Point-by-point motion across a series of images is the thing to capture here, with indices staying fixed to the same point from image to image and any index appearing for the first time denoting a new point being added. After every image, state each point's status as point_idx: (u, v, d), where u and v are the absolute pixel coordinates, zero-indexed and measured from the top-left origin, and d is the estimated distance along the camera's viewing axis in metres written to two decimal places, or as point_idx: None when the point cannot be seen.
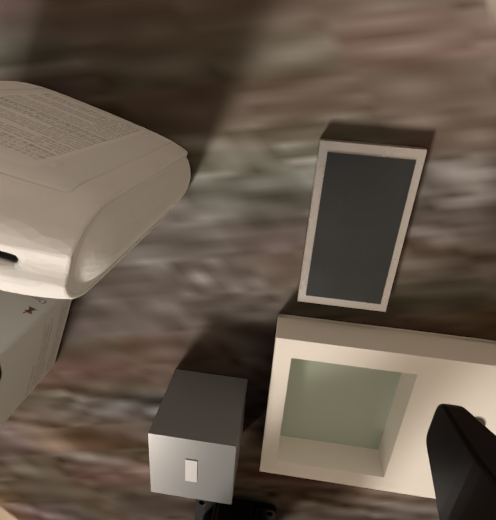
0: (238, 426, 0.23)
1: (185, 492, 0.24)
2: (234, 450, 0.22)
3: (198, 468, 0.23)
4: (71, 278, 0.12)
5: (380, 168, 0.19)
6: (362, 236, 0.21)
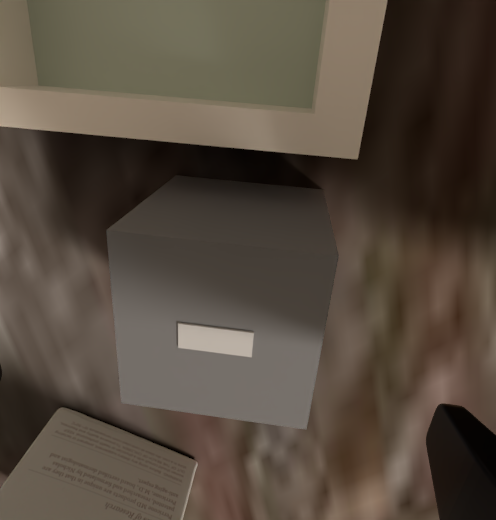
0: None
1: (299, 361, 0.09)
2: (120, 235, 0.09)
3: (206, 322, 0.09)
4: None
5: None
6: None
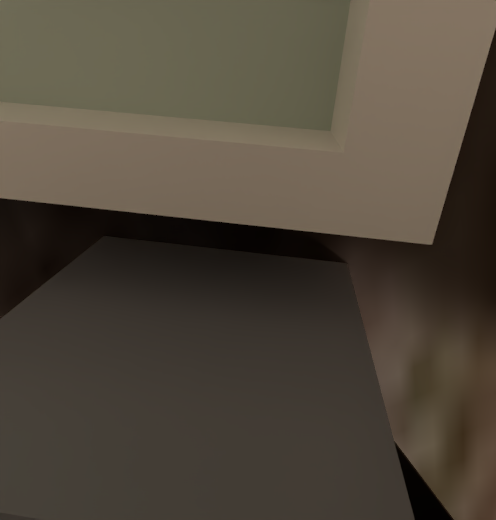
0: None
1: None
2: None
3: None
4: None
5: None
6: None
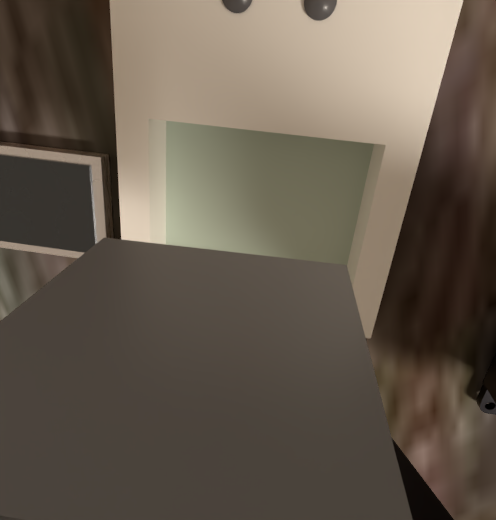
0: None
1: None
2: None
3: None
4: None
5: None
6: (10, 194, 0.18)
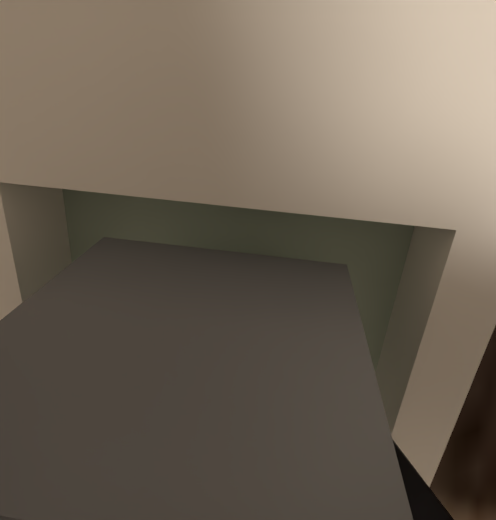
0: None
1: None
2: None
3: None
4: None
5: None
6: None
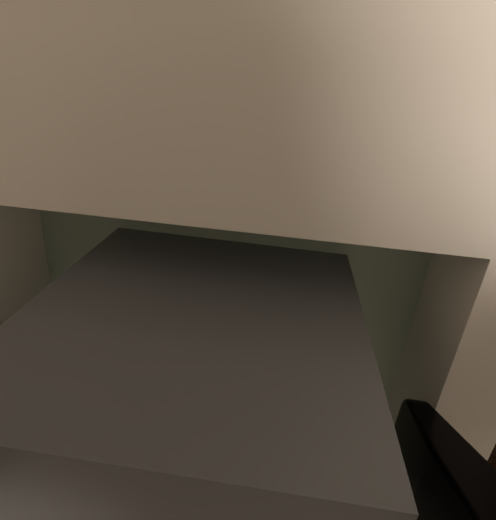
0: None
1: None
2: None
3: None
4: None
5: None
6: None
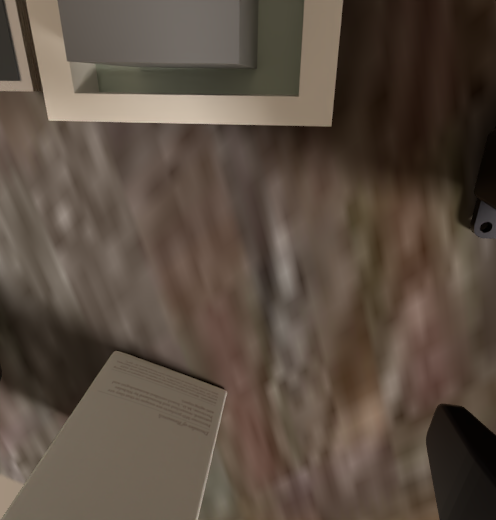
0: None
1: None
2: None
3: None
4: None
5: None
6: None
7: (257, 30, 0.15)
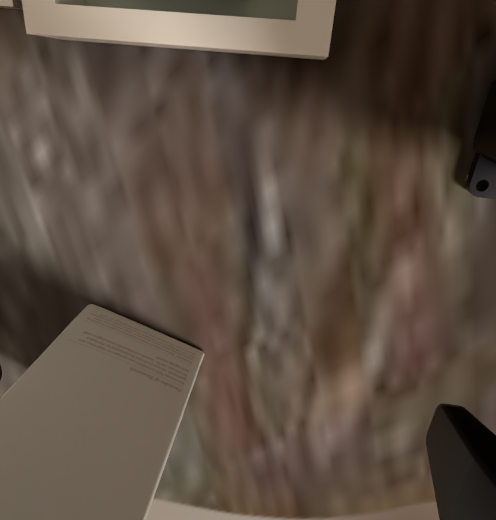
0: None
1: None
2: None
3: None
4: None
5: None
6: None
7: None
